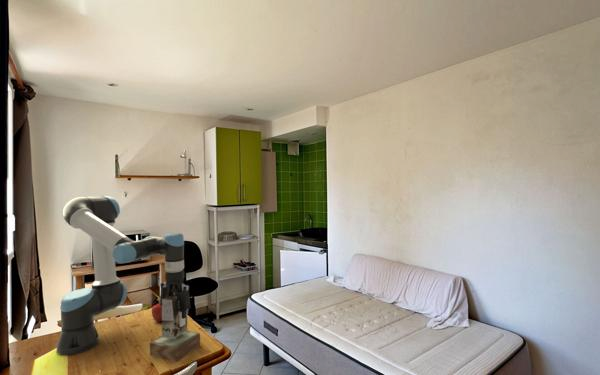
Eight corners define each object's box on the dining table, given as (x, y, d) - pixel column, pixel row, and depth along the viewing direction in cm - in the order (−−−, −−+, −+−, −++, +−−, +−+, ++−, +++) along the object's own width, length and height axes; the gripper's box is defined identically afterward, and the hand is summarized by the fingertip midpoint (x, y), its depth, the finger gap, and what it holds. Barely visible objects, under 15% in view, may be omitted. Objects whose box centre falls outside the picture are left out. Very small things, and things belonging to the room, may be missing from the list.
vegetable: (147, 320, 164) (147, 300, 164) (166, 313, 172) (166, 295, 172) (157, 326, 157) (157, 306, 157) (177, 319, 165) (177, 300, 164)
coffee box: (175, 339, 129) (174, 300, 129) (161, 337, 131) (161, 298, 131) (188, 329, 138) (187, 292, 138) (175, 327, 140) (174, 291, 139)
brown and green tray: (150, 354, 131) (149, 342, 131) (175, 339, 144) (174, 327, 144) (176, 361, 126) (176, 348, 126) (200, 344, 139) (199, 332, 139)
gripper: (149, 270, 134) (150, 323, 135) (187, 275, 127) (187, 332, 127) (163, 265, 141) (164, 316, 142) (199, 270, 134) (200, 324, 134)
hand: (175, 323), depth 135 cm, fingers closed on coffee box, 7 cm apart
